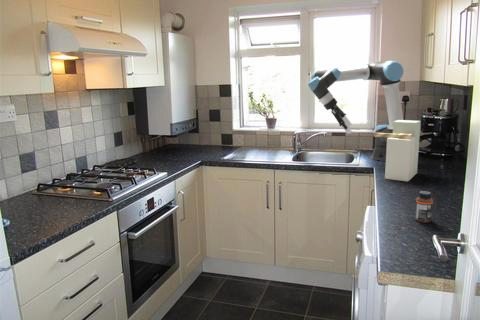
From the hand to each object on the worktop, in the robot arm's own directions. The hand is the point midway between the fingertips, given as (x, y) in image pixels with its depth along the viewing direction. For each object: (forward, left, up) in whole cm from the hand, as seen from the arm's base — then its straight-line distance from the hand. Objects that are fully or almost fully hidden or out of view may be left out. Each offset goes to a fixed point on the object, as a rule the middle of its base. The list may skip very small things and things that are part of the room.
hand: (350, 129), depth 242 cm
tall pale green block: (-19, +24, -24) cm, 39 cm away
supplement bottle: (+19, +88, -25) cm, 93 cm away
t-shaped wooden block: (-12, +24, -2) cm, 27 cm away
